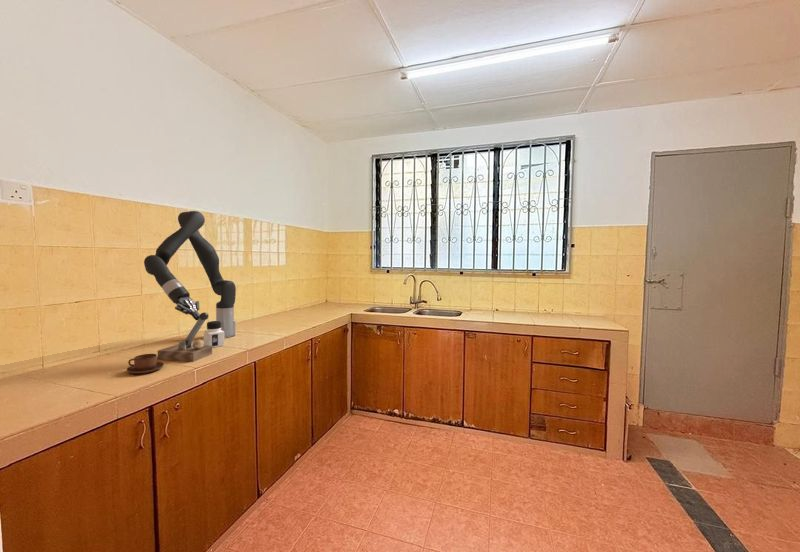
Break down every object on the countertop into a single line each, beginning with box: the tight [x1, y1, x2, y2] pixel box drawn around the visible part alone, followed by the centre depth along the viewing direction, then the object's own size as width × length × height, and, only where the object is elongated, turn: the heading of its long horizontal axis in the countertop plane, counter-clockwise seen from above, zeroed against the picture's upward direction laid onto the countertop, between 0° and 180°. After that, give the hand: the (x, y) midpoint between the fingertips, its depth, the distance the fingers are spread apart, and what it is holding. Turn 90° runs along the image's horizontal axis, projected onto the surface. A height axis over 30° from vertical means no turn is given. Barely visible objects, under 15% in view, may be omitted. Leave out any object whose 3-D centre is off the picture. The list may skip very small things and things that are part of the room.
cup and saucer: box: [126, 353, 165, 375], centre depth 134 cm, size 12×12×6 cm
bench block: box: [157, 338, 213, 363], centre depth 154 cm, size 18×12×8 cm, turn 83°
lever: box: [184, 312, 209, 348], centre depth 153 cm, size 4×4×20 cm
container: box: [203, 320, 225, 349], centre depth 173 cm, size 8×8×13 cm
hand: (199, 319), depth 152 cm, fingers closed
